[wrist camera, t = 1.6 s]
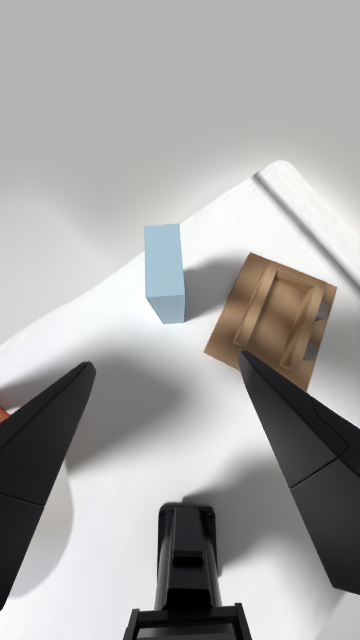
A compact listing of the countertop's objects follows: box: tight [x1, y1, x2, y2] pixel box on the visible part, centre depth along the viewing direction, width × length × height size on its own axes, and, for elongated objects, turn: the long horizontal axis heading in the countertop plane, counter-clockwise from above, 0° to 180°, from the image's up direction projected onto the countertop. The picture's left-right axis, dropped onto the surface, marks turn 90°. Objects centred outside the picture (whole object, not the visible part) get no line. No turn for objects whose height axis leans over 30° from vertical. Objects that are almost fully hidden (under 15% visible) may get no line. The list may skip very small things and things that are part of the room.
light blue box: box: [144, 224, 185, 324], centre depth 18 cm, size 8×3×11 cm, turn 4°
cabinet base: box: [204, 252, 337, 392], centre depth 21 cm, size 18×14×3 cm
